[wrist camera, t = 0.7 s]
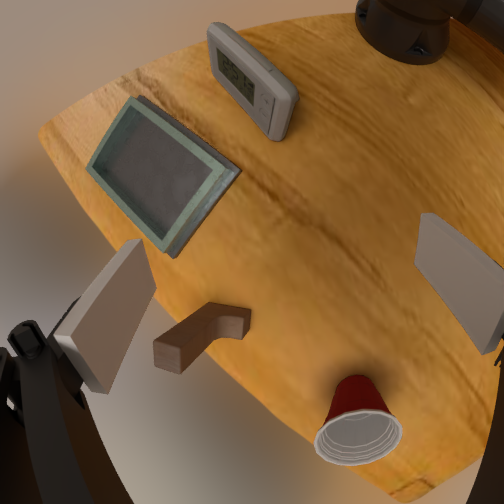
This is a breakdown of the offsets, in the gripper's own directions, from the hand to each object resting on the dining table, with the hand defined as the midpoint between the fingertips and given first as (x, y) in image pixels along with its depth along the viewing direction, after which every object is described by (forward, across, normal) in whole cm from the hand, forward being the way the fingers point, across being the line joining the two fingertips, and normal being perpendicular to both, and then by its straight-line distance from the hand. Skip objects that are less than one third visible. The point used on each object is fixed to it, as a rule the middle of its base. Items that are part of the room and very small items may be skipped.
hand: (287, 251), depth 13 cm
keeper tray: (+31, -17, 0) cm, 35 cm away
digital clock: (+31, 0, +9) cm, 32 cm away
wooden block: (+21, -8, -21) cm, 31 cm away
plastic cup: (+13, +10, -31) cm, 35 cm away
